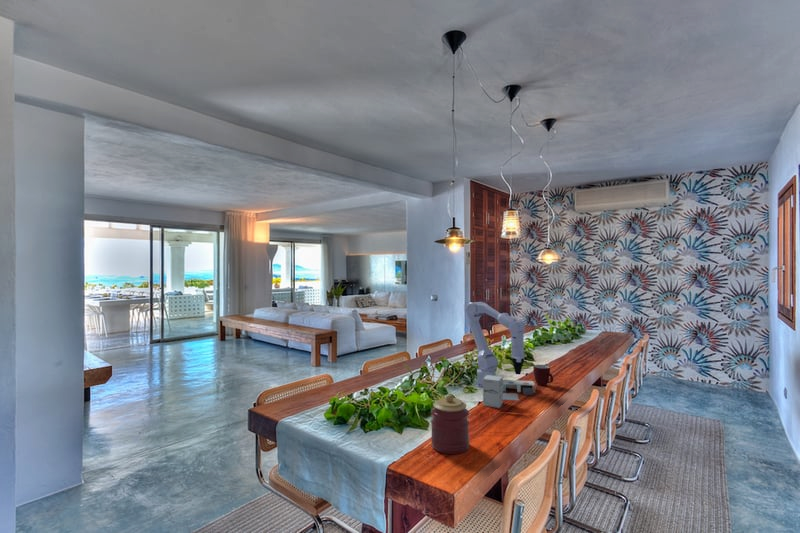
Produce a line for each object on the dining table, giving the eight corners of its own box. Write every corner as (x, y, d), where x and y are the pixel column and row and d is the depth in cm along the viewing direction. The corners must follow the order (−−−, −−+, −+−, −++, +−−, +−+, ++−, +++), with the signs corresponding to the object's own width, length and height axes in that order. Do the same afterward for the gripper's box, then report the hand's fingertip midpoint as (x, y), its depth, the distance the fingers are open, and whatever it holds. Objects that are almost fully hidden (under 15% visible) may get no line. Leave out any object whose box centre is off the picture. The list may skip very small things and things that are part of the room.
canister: (424, 449, 130) (423, 396, 131) (442, 435, 141) (441, 386, 141) (459, 459, 123) (458, 403, 123) (475, 443, 134) (474, 392, 134)
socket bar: (503, 393, 189) (502, 383, 189) (502, 388, 195) (502, 379, 195) (535, 394, 185) (535, 384, 185) (533, 390, 192) (533, 380, 192)
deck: (500, 401, 177) (500, 399, 177) (500, 394, 187) (500, 392, 187) (519, 402, 175) (519, 400, 175) (517, 395, 185) (517, 393, 185)
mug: (557, 387, 197) (557, 367, 197) (549, 390, 192) (549, 370, 192) (539, 382, 205) (538, 363, 205) (530, 385, 200) (530, 366, 200)
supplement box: (482, 407, 169) (482, 378, 170) (487, 402, 176) (486, 374, 176) (499, 410, 166) (499, 380, 166) (503, 404, 172) (503, 376, 173)
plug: (524, 397, 183) (524, 389, 183) (520, 391, 191) (520, 384, 191) (533, 397, 183) (532, 389, 183) (528, 391, 191) (528, 384, 191)
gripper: (527, 349, 178) (528, 378, 178) (524, 343, 192) (525, 370, 192) (511, 348, 180) (512, 377, 180) (510, 342, 194) (510, 369, 194)
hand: (517, 374), depth 186 cm, fingers closed
